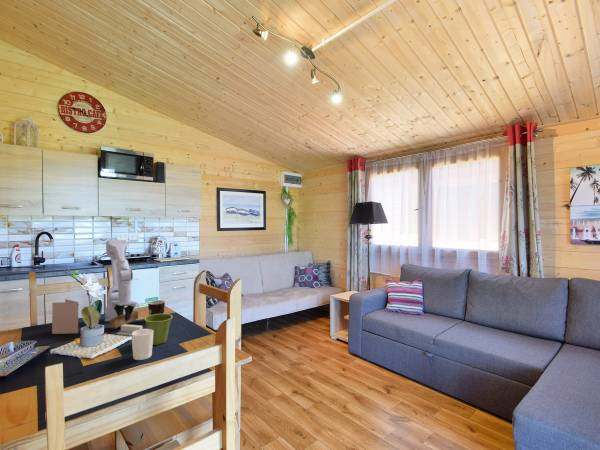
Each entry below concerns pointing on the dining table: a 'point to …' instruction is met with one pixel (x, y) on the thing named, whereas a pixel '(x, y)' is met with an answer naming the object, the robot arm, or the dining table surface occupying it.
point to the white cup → (142, 344)
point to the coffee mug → (156, 307)
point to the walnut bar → (122, 320)
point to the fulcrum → (129, 329)
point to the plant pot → (159, 326)
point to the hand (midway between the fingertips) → (124, 319)
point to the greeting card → (65, 317)
